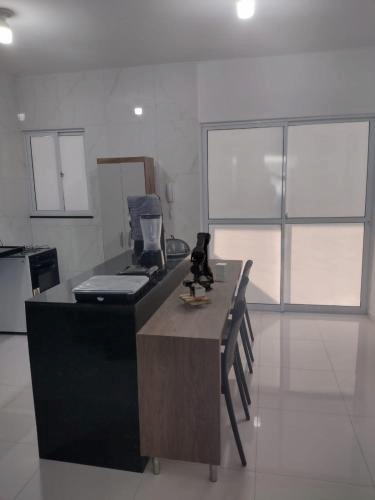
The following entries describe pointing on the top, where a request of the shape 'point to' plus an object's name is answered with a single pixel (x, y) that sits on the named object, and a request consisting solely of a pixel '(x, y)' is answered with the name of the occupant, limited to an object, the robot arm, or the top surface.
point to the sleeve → (199, 292)
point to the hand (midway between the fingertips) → (198, 295)
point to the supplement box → (221, 272)
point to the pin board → (194, 301)
